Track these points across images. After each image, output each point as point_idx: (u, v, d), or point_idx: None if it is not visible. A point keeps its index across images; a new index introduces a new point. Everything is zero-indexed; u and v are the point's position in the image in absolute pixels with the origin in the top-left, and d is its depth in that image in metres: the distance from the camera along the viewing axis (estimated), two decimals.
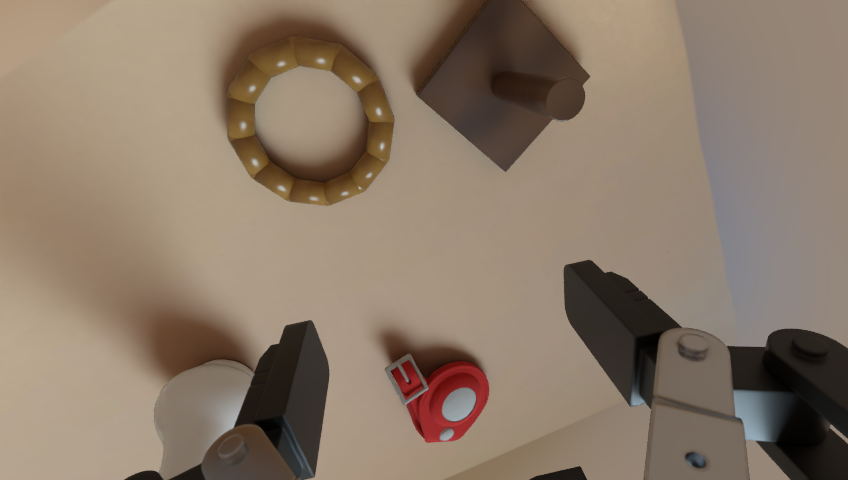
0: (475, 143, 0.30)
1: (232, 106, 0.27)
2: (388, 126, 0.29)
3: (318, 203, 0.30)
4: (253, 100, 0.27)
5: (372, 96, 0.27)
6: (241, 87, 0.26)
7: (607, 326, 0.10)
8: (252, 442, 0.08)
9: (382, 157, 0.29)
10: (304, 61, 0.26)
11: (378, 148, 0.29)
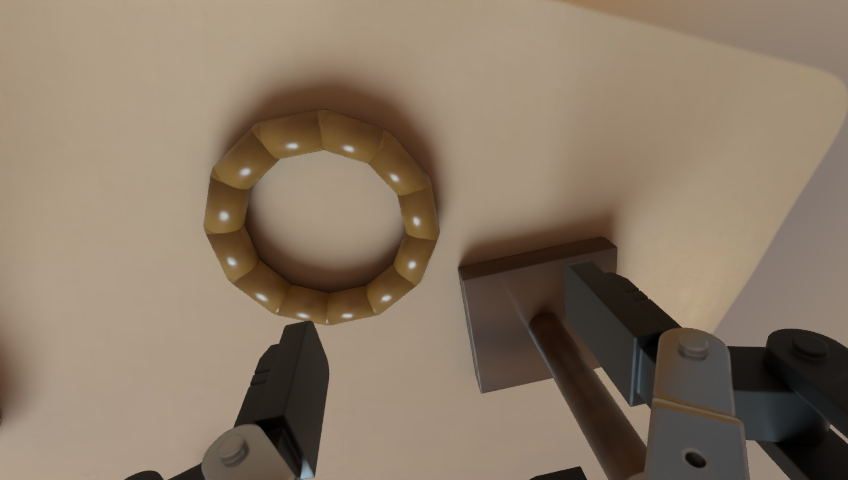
0: (476, 354, 0.25)
1: (251, 147, 0.18)
2: (410, 287, 0.22)
3: None
4: (282, 157, 0.18)
5: (420, 252, 0.21)
6: (281, 138, 0.18)
7: (607, 326, 0.10)
8: (252, 441, 0.08)
9: (377, 310, 0.22)
10: (379, 168, 0.19)
11: (382, 301, 0.22)
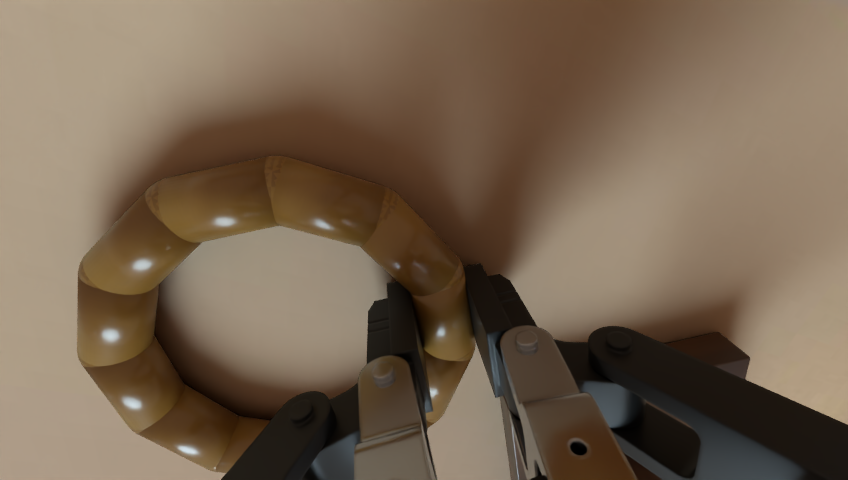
0: None
1: (142, 229, 0.10)
2: (427, 425, 0.14)
3: None
4: (207, 240, 0.10)
5: (444, 380, 0.13)
6: (198, 211, 0.10)
7: (478, 324, 0.11)
8: (399, 374, 0.09)
9: None
10: (378, 256, 0.11)
11: None
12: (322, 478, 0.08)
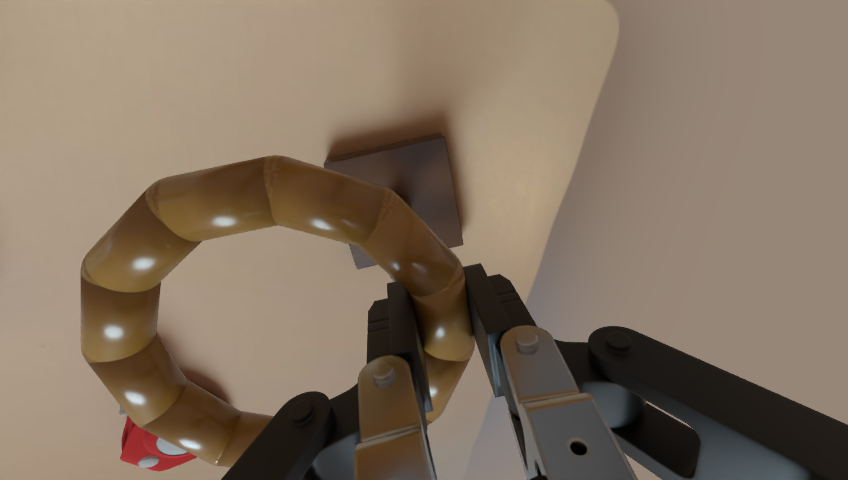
0: None
1: (142, 228, 0.10)
2: None
3: (196, 455, 0.14)
4: (207, 239, 0.10)
5: (443, 379, 0.13)
6: (197, 211, 0.10)
7: (478, 324, 0.11)
8: (399, 374, 0.09)
9: None
10: (376, 256, 0.11)
11: None
12: (322, 478, 0.08)
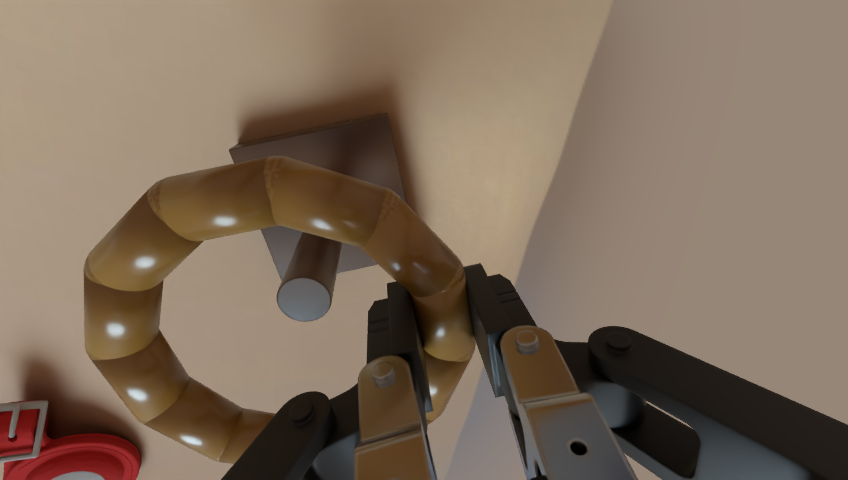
0: (266, 238, 0.24)
1: (144, 228, 0.10)
2: None
3: None
4: (208, 239, 0.11)
5: (443, 379, 0.13)
6: (198, 212, 0.10)
7: (478, 324, 0.11)
8: (399, 374, 0.09)
9: None
10: (377, 257, 0.11)
11: None
12: (322, 478, 0.08)
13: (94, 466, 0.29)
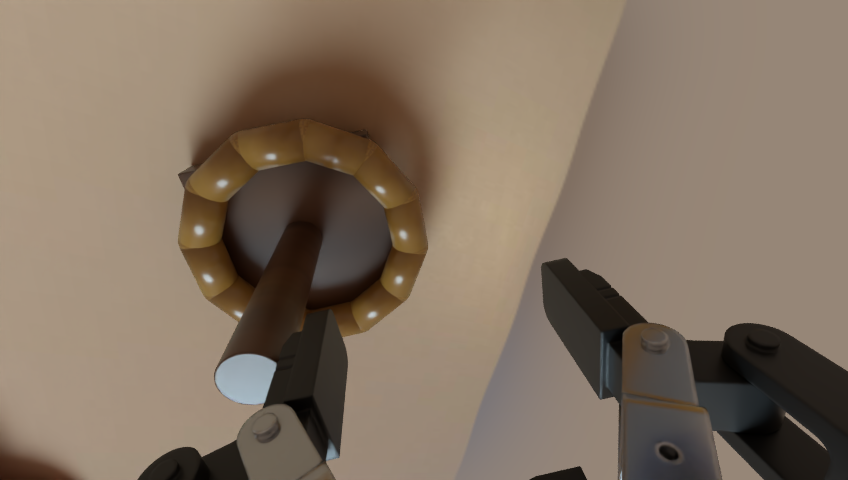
0: None
1: (228, 158, 0.17)
2: (397, 303, 0.21)
3: None
4: (262, 169, 0.18)
5: (407, 267, 0.20)
6: (260, 149, 0.17)
7: (578, 322, 0.10)
8: (284, 420, 0.08)
9: (363, 328, 0.21)
10: (364, 180, 0.18)
11: (367, 318, 0.21)
12: None
13: None
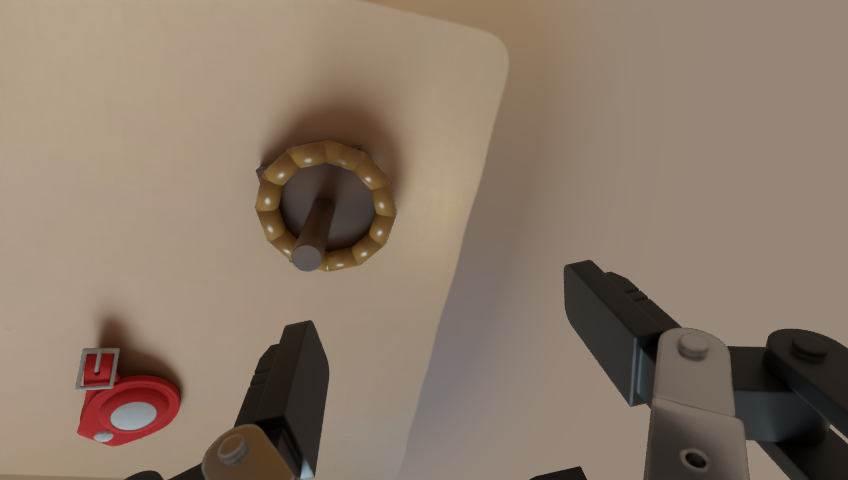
0: None
1: (286, 161, 0.31)
2: (379, 246, 0.36)
3: (289, 258, 0.35)
4: (303, 167, 0.32)
5: (384, 224, 0.35)
6: (303, 156, 0.31)
7: (607, 326, 0.10)
8: (252, 441, 0.08)
9: (358, 261, 0.36)
10: (359, 173, 0.33)
11: (361, 255, 0.35)
12: None
13: (149, 399, 0.40)
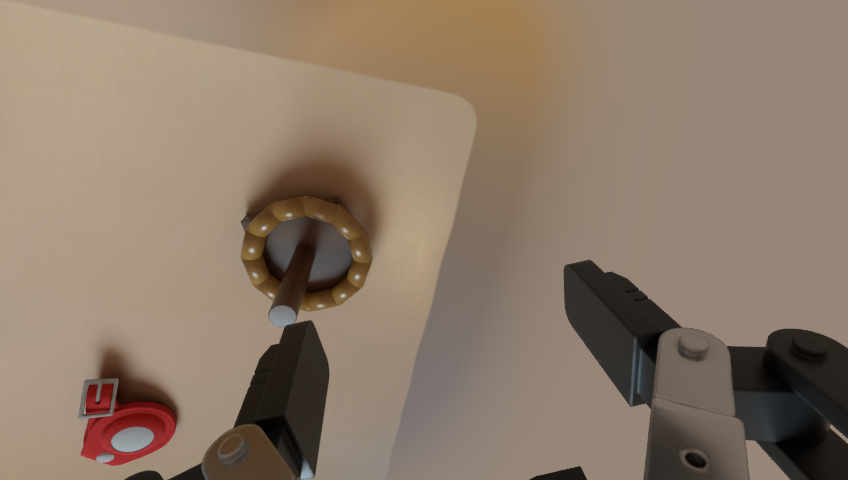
0: None
1: (268, 216, 0.34)
2: (356, 289, 0.38)
3: (273, 300, 0.38)
4: (284, 220, 0.35)
5: (360, 270, 0.37)
6: (284, 212, 0.34)
7: (607, 326, 0.10)
8: (252, 441, 0.08)
9: (337, 303, 0.38)
10: (336, 226, 0.35)
11: (340, 297, 0.38)
12: None
13: (147, 423, 0.43)
